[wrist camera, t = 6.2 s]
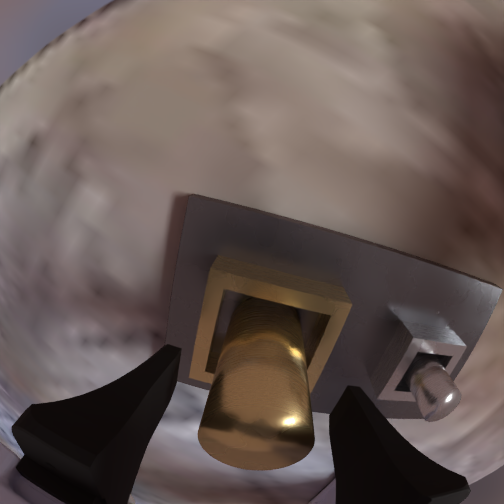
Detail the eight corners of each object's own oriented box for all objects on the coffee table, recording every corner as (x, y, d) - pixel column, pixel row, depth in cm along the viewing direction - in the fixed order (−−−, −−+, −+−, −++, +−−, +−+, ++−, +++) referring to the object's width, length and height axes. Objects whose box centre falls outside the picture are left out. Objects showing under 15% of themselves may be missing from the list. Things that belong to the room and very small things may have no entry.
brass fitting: (289, 362, 17) (293, 475, 9) (223, 347, 17) (193, 458, 9) (310, 305, 15) (333, 417, 8) (237, 288, 15) (204, 394, 8)
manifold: (422, 410, 19) (445, 461, 13) (166, 367, 19) (135, 428, 13) (494, 283, 15) (545, 321, 9) (194, 193, 15) (148, 211, 9)
